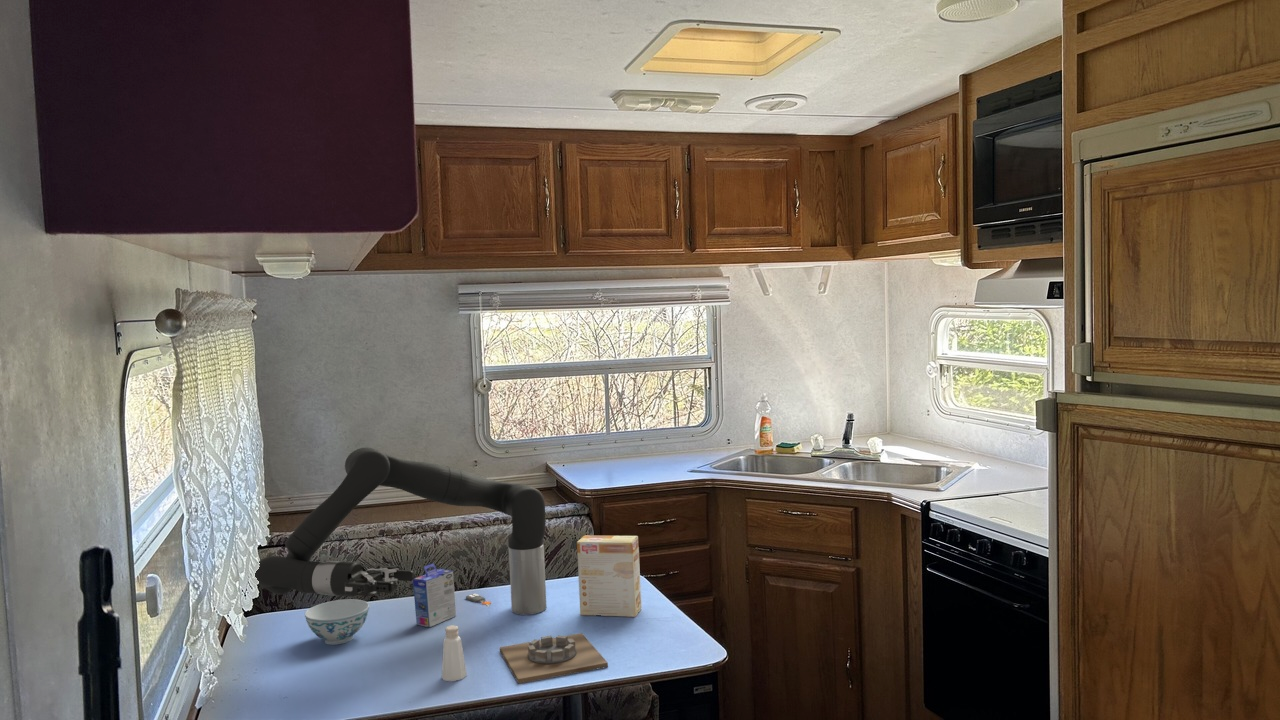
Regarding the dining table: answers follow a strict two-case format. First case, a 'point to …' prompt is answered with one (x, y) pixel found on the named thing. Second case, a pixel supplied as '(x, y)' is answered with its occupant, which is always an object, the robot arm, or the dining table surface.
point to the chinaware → (337, 619)
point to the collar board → (552, 657)
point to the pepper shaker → (453, 656)
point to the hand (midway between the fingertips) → (403, 581)
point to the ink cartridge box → (434, 596)
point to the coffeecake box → (609, 575)
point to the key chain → (477, 599)
